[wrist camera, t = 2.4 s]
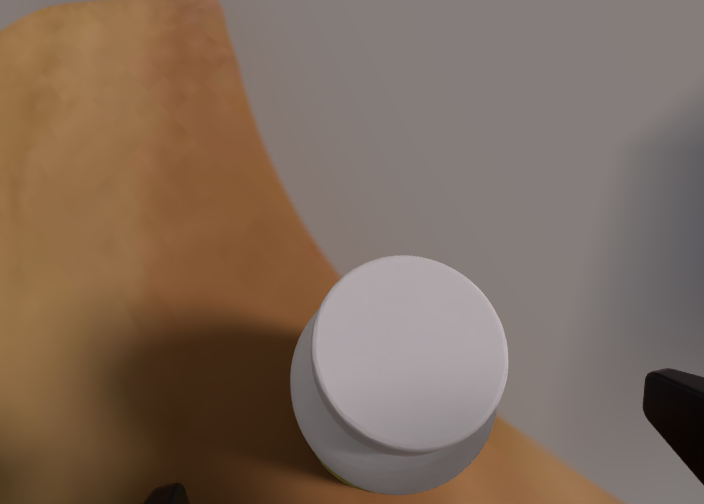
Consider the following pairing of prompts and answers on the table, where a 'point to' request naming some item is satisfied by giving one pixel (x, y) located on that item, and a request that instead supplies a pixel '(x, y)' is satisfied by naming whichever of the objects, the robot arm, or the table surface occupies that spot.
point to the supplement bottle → (399, 375)
